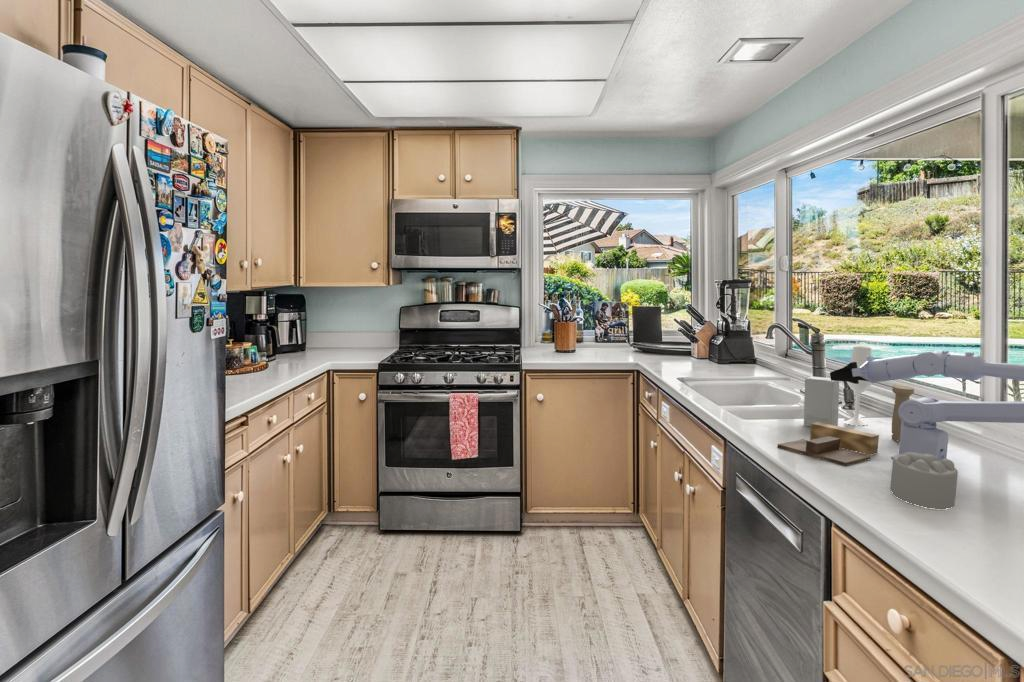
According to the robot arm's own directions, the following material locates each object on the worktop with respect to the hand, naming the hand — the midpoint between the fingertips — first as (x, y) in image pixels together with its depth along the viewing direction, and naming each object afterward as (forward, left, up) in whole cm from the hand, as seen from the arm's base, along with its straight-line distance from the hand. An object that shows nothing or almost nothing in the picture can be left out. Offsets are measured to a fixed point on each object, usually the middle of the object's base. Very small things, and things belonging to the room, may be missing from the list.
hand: (838, 376), depth 167 cm
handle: (-8, -18, -18) cm, 27 cm away
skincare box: (+12, -13, -18) cm, 25 cm away
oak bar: (-4, +3, -18) cm, 19 cm away
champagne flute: (+8, -27, -18) cm, 34 cm away
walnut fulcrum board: (-5, +14, -18) cm, 23 cm away
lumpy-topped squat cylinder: (-34, +27, -18) cm, 47 cm away
